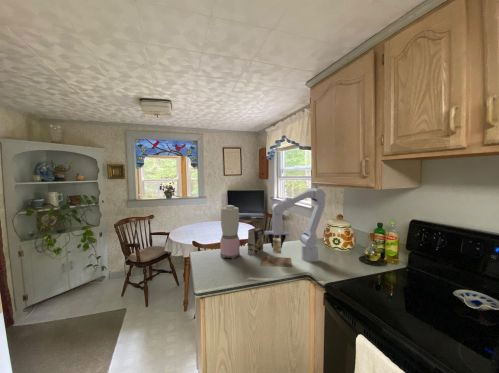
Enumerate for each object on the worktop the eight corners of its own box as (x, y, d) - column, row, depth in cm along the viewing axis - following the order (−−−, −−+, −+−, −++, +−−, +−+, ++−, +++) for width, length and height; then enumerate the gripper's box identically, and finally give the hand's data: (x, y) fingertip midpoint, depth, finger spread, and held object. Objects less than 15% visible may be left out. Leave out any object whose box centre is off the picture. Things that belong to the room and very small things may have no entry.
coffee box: (255, 256, 139) (255, 231, 138) (247, 254, 143) (247, 229, 141) (263, 252, 146) (263, 228, 145) (255, 250, 150) (255, 226, 149)
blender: (237, 260, 133) (237, 207, 131) (218, 259, 135) (217, 207, 132) (241, 250, 149) (241, 203, 146) (223, 249, 150) (223, 203, 148)
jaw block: (280, 248, 133) (280, 238, 132) (281, 253, 124) (281, 243, 123) (272, 247, 133) (272, 238, 133) (273, 253, 124) (272, 242, 124)
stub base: (290, 259, 135) (290, 253, 134) (292, 268, 122) (292, 261, 121) (261, 258, 136) (261, 251, 136) (260, 267, 124) (260, 260, 123)
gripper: (264, 225, 124) (264, 249, 125) (290, 226, 123) (289, 250, 124) (264, 222, 131) (264, 244, 132) (289, 223, 130) (288, 246, 131)
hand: (276, 247), depth 128 cm, fingers closed on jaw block, 4 cm apart
